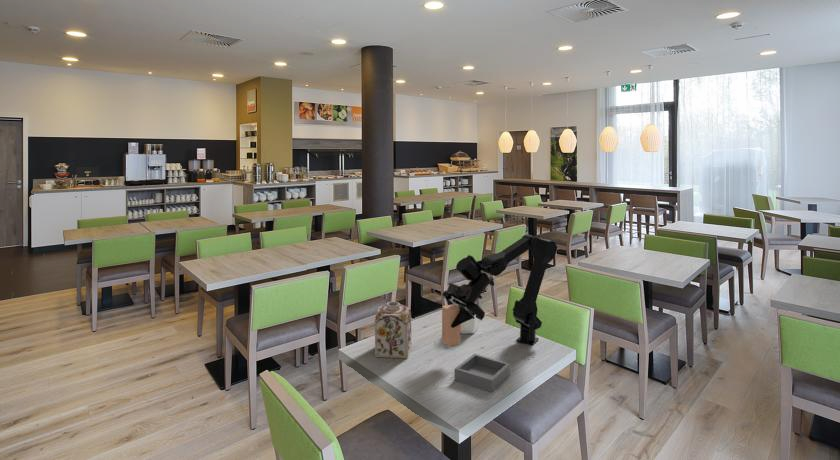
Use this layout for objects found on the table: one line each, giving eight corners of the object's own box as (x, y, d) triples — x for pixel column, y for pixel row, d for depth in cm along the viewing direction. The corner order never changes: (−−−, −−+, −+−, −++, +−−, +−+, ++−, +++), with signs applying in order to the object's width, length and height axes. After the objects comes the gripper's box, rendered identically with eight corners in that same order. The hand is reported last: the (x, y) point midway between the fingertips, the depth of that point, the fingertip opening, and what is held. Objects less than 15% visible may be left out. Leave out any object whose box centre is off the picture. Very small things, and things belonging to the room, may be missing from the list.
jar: (451, 328, 186) (451, 300, 184) (466, 324, 191) (467, 296, 189) (466, 336, 179) (466, 306, 177) (481, 331, 184) (482, 302, 182)
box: (474, 364, 156) (474, 353, 155) (509, 374, 149) (510, 363, 148) (454, 379, 145) (454, 368, 145) (492, 392, 138) (492, 380, 138)
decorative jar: (380, 343, 172) (380, 297, 169) (411, 345, 171) (411, 298, 168) (374, 358, 161) (373, 308, 157) (407, 359, 159) (407, 309, 156)
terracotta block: (453, 338, 160) (453, 304, 158) (460, 343, 156) (460, 308, 154) (442, 341, 158) (442, 306, 156) (449, 346, 154) (449, 310, 152)
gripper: (446, 268, 163) (419, 303, 159) (478, 281, 147) (448, 320, 143) (464, 286, 168) (438, 320, 165) (497, 300, 152) (469, 339, 149)
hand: (447, 324), depth 155 cm, fingers closed on terracotta block, 4 cm apart
